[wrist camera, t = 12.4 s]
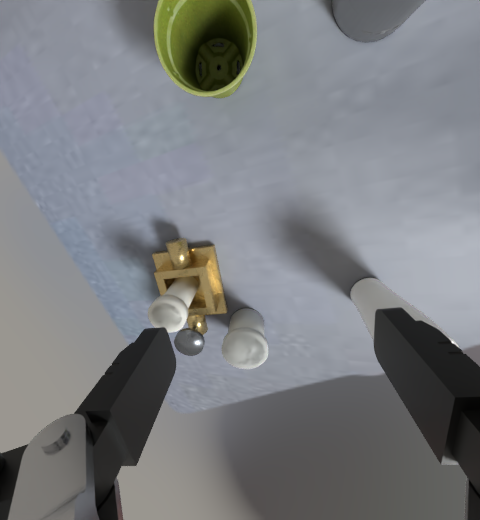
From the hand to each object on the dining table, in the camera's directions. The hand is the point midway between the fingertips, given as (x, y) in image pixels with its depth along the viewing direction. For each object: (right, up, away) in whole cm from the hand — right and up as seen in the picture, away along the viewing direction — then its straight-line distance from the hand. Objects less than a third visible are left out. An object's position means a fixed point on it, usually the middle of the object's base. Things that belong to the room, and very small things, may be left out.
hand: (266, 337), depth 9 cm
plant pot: (-4, +27, +21) cm, 34 cm away
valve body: (-9, -1, +31) cm, 33 cm away
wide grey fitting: (0, -8, +33) cm, 34 cm away
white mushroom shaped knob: (-10, -1, +30) cm, 32 cm away
